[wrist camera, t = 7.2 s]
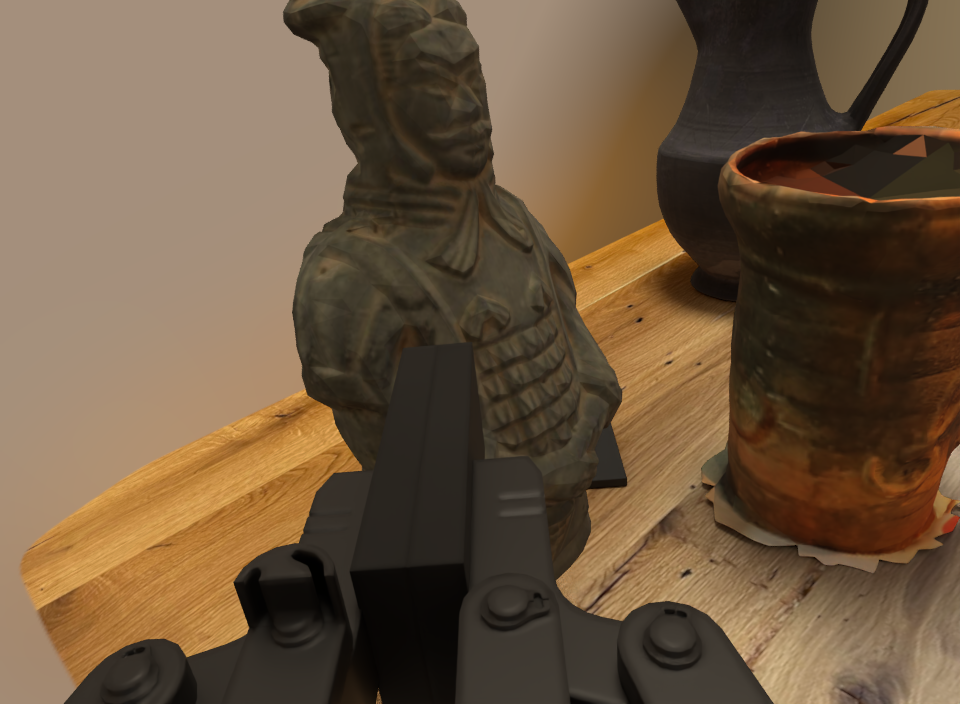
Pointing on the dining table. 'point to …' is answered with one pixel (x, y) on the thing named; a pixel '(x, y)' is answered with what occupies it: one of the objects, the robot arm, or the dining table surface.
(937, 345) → the vessel
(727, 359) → the dining table surface
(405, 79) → the statue
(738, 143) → the pitcher
